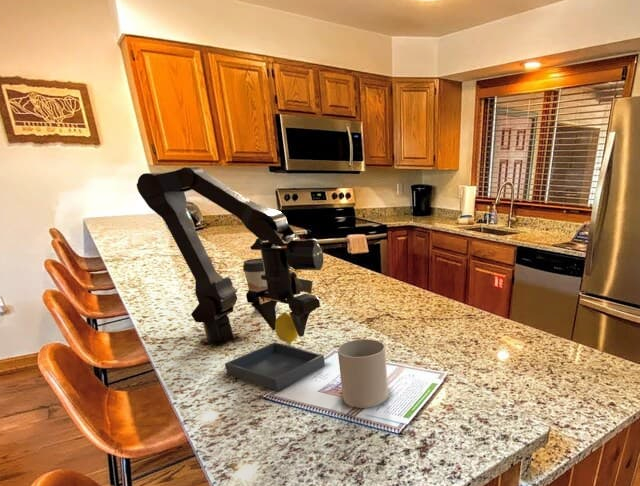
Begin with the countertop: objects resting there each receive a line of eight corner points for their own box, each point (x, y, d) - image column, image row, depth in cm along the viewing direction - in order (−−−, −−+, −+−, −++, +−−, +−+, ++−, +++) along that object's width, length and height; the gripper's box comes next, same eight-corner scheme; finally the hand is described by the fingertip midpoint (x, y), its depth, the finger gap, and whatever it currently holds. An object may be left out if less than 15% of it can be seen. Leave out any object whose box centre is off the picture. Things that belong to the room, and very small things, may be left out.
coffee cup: (286, 309, 130) (278, 259, 123) (263, 316, 123) (253, 265, 117) (269, 305, 134) (260, 256, 128) (245, 312, 127) (235, 262, 121)
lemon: (294, 348, 102) (289, 316, 99) (273, 346, 103) (267, 315, 100) (305, 339, 107) (301, 309, 104) (285, 338, 108) (280, 308, 105)
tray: (227, 374, 90) (224, 363, 89) (276, 352, 100) (274, 342, 99) (277, 391, 83) (275, 379, 82) (325, 365, 93) (323, 355, 92)
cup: (367, 412, 75) (363, 361, 71) (333, 400, 79) (327, 351, 75) (396, 392, 82) (394, 344, 78) (363, 382, 86) (359, 336, 82)
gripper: (332, 266, 99) (339, 329, 106) (276, 259, 108) (286, 317, 114) (296, 276, 91) (306, 344, 97) (239, 267, 99) (251, 330, 106)
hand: (287, 333), depth 104 cm, fingers open, 9 cm apart
